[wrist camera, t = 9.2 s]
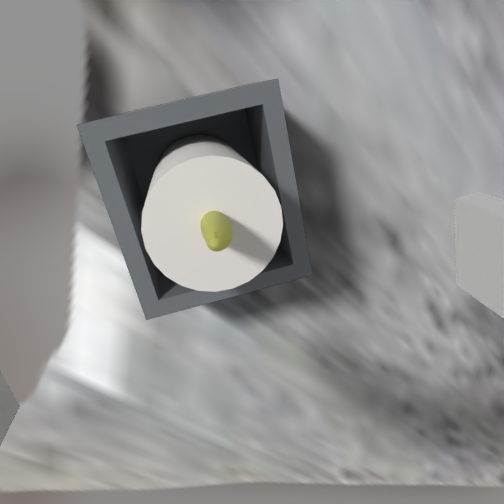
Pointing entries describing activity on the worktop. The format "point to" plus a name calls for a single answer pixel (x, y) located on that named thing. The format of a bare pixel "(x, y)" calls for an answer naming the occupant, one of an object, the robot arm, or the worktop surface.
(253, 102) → the slate holder
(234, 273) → the candle
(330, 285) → the worktop surface
